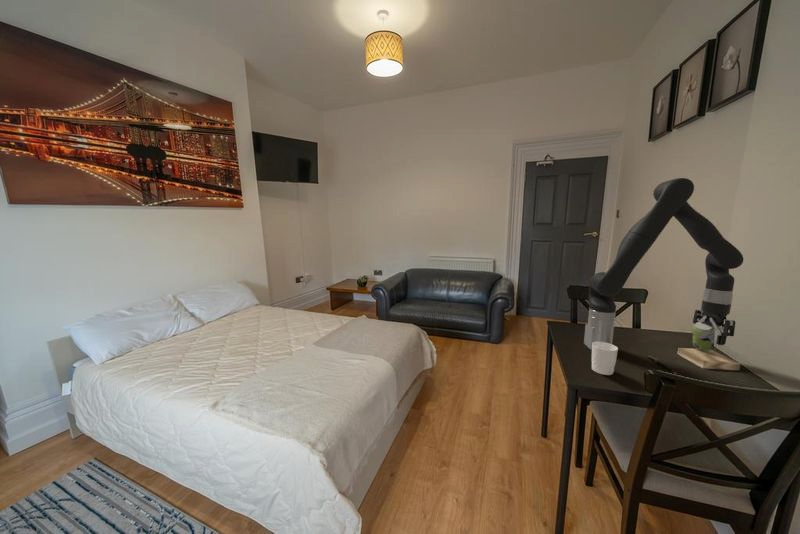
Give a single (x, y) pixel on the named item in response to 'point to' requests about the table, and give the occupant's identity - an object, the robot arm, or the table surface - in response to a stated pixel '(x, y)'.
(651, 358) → the fountain pen
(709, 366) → the base
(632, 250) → the robot arm
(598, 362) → the white cup
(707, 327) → the beverage can
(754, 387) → the table surface
